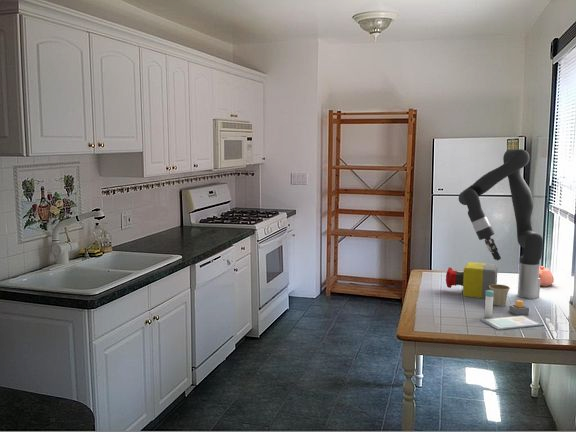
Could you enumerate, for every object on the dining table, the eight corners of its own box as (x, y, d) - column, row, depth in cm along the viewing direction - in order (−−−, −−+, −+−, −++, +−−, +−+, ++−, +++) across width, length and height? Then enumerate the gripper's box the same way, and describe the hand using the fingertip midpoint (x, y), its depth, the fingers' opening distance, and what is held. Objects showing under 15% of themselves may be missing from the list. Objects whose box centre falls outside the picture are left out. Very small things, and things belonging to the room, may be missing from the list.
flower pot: (499, 308, 259) (500, 290, 257) (484, 303, 267) (484, 285, 266) (513, 305, 263) (514, 287, 262) (497, 300, 271) (498, 283, 270)
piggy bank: (554, 283, 301) (555, 265, 300) (551, 289, 290) (552, 270, 288) (530, 280, 308) (531, 262, 307) (526, 286, 296) (527, 267, 295)
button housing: (520, 310, 255) (520, 304, 255) (528, 314, 249) (529, 307, 249) (509, 311, 254) (509, 305, 254) (517, 315, 248) (517, 308, 248)
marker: (489, 315, 248) (490, 289, 246) (494, 318, 245) (495, 292, 243) (482, 316, 247) (484, 290, 246) (487, 318, 244) (488, 292, 242)
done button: (519, 308, 254) (520, 299, 253) (524, 310, 250) (525, 301, 250) (513, 308, 253) (513, 300, 252) (518, 311, 249) (518, 302, 249)
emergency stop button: (448, 287, 295) (449, 260, 293) (496, 292, 285) (497, 264, 283) (443, 294, 282) (444, 266, 280) (493, 300, 272) (495, 270, 270)
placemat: (523, 316, 247) (524, 314, 247) (543, 325, 234) (543, 324, 234) (480, 320, 242) (480, 318, 242) (498, 330, 229) (498, 328, 229)
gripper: (492, 224, 253) (507, 256, 251) (488, 225, 267) (503, 255, 265) (476, 231, 255) (491, 263, 253) (474, 231, 269) (488, 261, 267)
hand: (497, 259), depth 259 cm, fingers open, 8 cm apart
